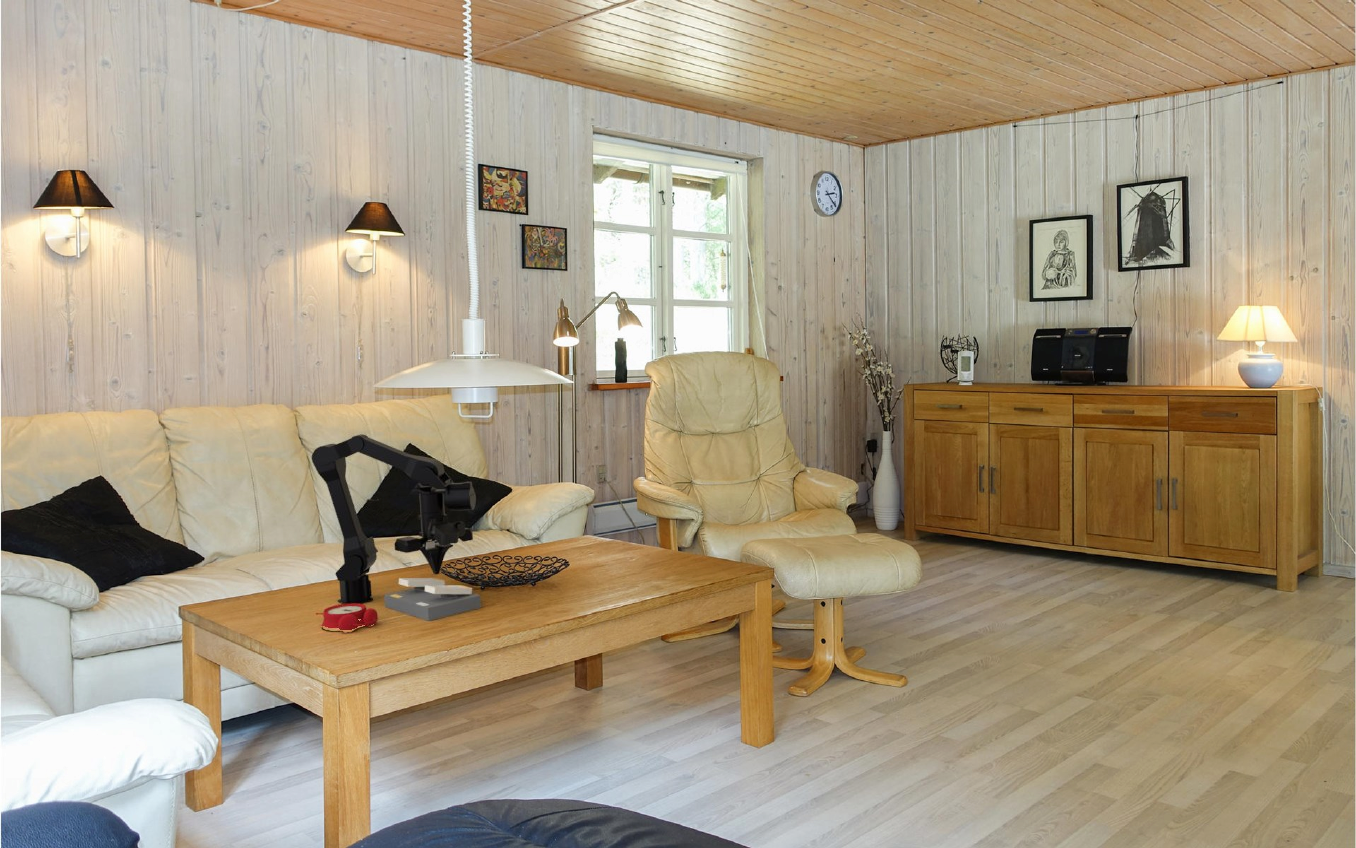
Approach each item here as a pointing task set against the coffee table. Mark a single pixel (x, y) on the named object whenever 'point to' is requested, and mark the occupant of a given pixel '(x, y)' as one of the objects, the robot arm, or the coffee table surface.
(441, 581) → the bar
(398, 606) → the switch box
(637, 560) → the coffee table surface
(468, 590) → the bar
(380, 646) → the coffee table surface
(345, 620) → the alarm clock
